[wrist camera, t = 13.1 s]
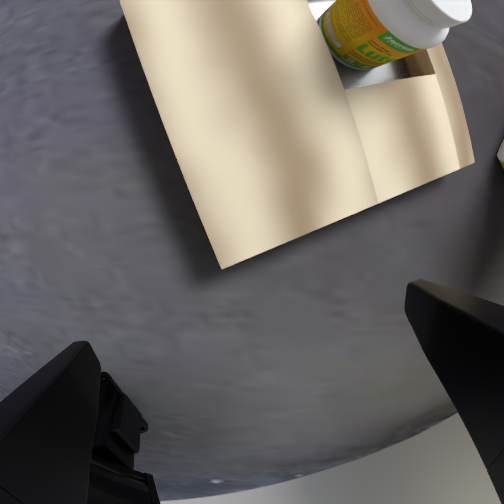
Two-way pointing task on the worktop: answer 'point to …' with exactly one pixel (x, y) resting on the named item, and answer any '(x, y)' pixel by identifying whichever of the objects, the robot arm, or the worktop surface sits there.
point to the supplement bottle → (387, 28)
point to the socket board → (289, 118)
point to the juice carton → (501, 154)
